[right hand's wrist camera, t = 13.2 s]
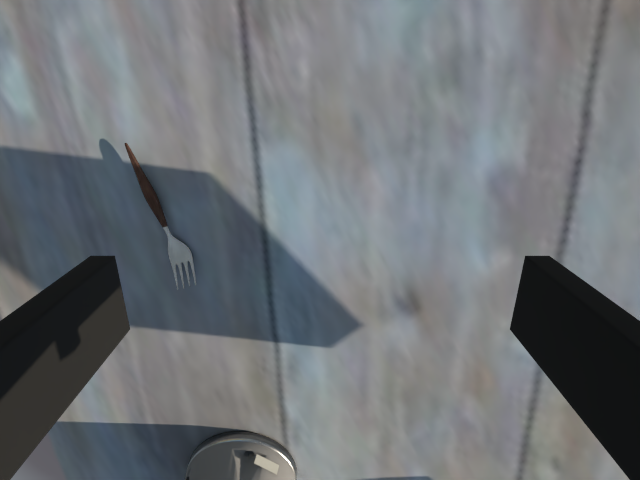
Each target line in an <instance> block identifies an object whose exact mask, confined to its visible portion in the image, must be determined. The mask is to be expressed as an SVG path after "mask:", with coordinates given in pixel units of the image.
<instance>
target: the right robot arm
mask: <svg viewBox="0 0 640 480" xmlns="http://www.w3.org/2000/svg"><path fill="white" fill-rule="evenodd" d="M129 330H130V327H129V322H128V317H127V312H126V307H125V303H124V298H123V293H122V288H121V284H120V279H119V274H118V269H117V264H116V260H115V256H90V257H89V258H87V259H86V260H84V261H83V262H82V263H80V264H79V265H77V266H76V267H75V268H73V269H72V270H71V271H69V272H68V273H66V274H65V275H64V276H62V277H61V278H59V279H58V280H57V281H55V282H54V283H53V284H51V285H50V286H48V287H47V288H46V289H44V290H43V291H41V292H40V293H39V294H37V295H36V296H34V297H33V298H32V299H30V300H29V301H28V302H26V303H25V304H23V305H22V306H21V307H19V308H18V309H16V310H15V311H14V312H12V313H11V314H9V315H8V316H7V317H5V318H4V319H3V320H1V321H0V480H10V479H11V478H12V477H13V475H14V474H15V473H16V472H17V470H18V469H19V468H20V467H21V465H22V464H23V463H24V462H25V460H26V459H27V458H28V457H29V455H30V454H31V453H32V452H33V450H34V449H35V448H36V447H37V445H38V444H39V443H40V442H41V440H42V439H43V438H44V436H45V435H46V434H47V433H48V431H49V430H50V429H51V428H52V426H53V425H54V424H55V423H56V421H57V420H58V419H59V418H60V416H61V415H62V414H63V413H64V411H65V410H66V409H67V408H68V406H69V405H70V404H71V403H72V401H73V400H74V399H75V398H76V396H77V395H78V394H79V393H80V391H81V390H82V389H83V388H84V386H85V385H86V384H87V383H88V381H89V380H90V379H91V378H92V376H93V375H94V374H95V373H96V371H97V370H98V369H99V368H100V366H101V365H102V364H103V362H104V361H105V360H106V359H107V357H108V356H109V355H110V354H111V352H112V351H113V350H114V349H115V347H116V346H117V345H118V344H119V342H120V341H121V340H122V339H123V337H124V336H125V335H126V334H127V332H128V331H129ZM510 330H511V331H512V332H513V334H514V335H515V336H516V337H517V339H518V340H519V341H520V342H521V344H522V345H523V346H524V347H525V349H526V350H527V351H528V352H529V354H530V355H531V356H532V357H533V359H534V360H535V361H536V362H537V364H538V365H539V366H540V368H541V369H542V370H543V371H544V373H545V374H546V375H547V376H548V378H549V379H550V380H551V381H552V383H553V384H554V385H555V386H556V388H557V389H558V390H559V391H560V393H561V394H562V395H563V396H564V398H565V399H566V400H567V401H568V403H569V404H570V405H571V406H572V408H573V409H574V410H575V411H576V413H577V414H578V415H579V416H580V418H581V419H582V420H583V421H584V423H585V424H586V425H587V426H588V428H589V429H590V430H591V431H592V433H593V434H594V435H595V437H596V438H597V439H598V440H599V442H600V443H601V444H602V445H603V447H604V448H605V449H606V450H607V452H608V453H609V454H610V455H611V457H612V458H613V459H614V460H615V462H616V463H617V464H618V465H619V467H620V468H621V469H622V470H623V472H624V473H625V474H626V475H627V477H628V478H629V479H630V480H640V321H639V320H637V319H636V318H635V317H633V316H632V315H631V314H629V313H628V312H626V311H625V310H624V309H622V308H621V307H619V306H618V305H617V304H615V303H614V302H612V301H611V300H610V299H608V298H607V297H606V296H604V295H603V294H601V293H600V292H599V291H597V290H596V289H594V288H593V287H592V286H590V285H589V284H587V283H586V282H585V281H583V280H582V279H581V278H579V277H578V276H576V275H575V274H574V273H572V272H571V271H569V270H568V269H567V268H565V267H564V266H562V265H561V264H560V263H558V262H557V261H556V260H554V259H553V258H551V257H550V256H525V260H524V264H523V269H522V274H521V279H520V284H519V288H518V293H517V298H516V303H515V307H514V312H513V317H512V322H511V327H510ZM296 475H297V470H296V465H295V462H294V460H293V458H292V456H291V455H290V453H289V452H288V451H287V450H286V449H285V448H284V447H283V446H282V445H280V444H279V443H277V442H276V441H274V440H272V439H270V438H268V437H266V436H263V435H260V434H256V433H250V432H228V433H223V434H219V435H216V436H213V437H211V438H209V439H207V440H206V441H204V442H203V443H202V444H200V445H199V446H198V447H197V448H196V450H195V451H194V452H193V454H192V456H191V459H190V462H189V464H188V467H187V471H186V477H185V480H296Z"/></svg>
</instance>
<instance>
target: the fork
mask: <svg viewBox="0 0 640 480" xmlns="http://www.w3.org/2000/svg"><path fill="white" fill-rule="evenodd" d="M125 147H126V150H127V152H128V155H129V158H130V160H131V163H132V165H133V168H134V170H135V173H136V176H137V178H138V181H139V184H140V187H141V189H142V192H143V194H144V197H145V199H146V201H147V202H148V204H149V206H150V208H151V209H152V211H153V212H154V214H155V216H156V217H157V219H158V220H159V222H160V224H161V225H162V227H163V229H164V230H165V232H166V234H167V237H168V255H169V259H170V262H171V265H172V268H173V272H174V277H175V281H176V285H177V290H178V281H177V273H176V264H177V265H178V268H179V271H180V275H181V280H182V284H183V288H184V280H183V272H182V263H183V264H184V266H185V270H186V274H187V278H188V283H189V287H190V279H189V271H188V264H187V262H188V261H189V262H190V265H191V269H192V273H193V277H194V281H195V285H196V278H195V270H194V264H193V258H192V253H191V251H190V249H189V248H188V247H187V246H186V245H185V244H184V243H182V242H181V241H179V240H178V239H176V238H175V237H173V236H172V234H171V233H170V231H169V228H168V226H167V223H166V220H165V217H164V214H163V211H162V208H161V205H160V202H159V200H158V197H157V195H156V193H155V191H154V189H153V187H152V186H151V184H150V182H149V181H148V179H147V177H146V176H145V174H144V172H143V171H142V169H141V167H140V165H139V163H138V162H137V160H136V158H135V156H134V154H133V153H132V151H131V149H130V148H129V146H128V144H127V143H125Z"/></svg>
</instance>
